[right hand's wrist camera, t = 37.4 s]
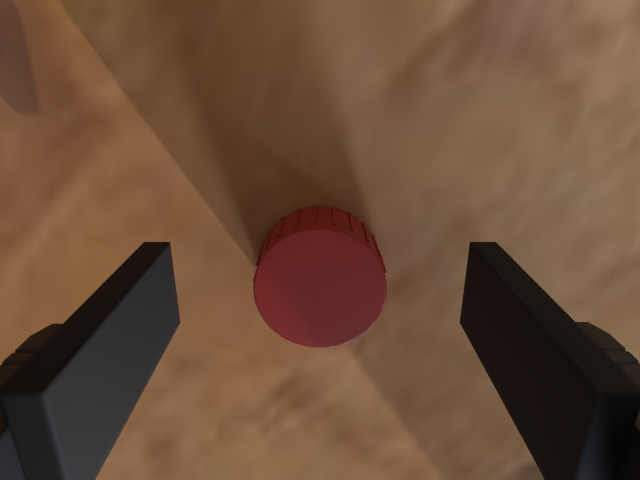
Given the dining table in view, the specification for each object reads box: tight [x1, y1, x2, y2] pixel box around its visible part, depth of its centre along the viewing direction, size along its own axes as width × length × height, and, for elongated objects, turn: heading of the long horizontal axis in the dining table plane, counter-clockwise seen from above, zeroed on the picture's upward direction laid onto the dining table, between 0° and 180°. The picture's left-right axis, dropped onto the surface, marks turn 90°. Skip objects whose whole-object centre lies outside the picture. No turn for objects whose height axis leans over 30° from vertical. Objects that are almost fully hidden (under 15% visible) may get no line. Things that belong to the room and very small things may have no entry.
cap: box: [253, 206, 387, 348], centre depth 14 cm, size 4×4×2 cm
